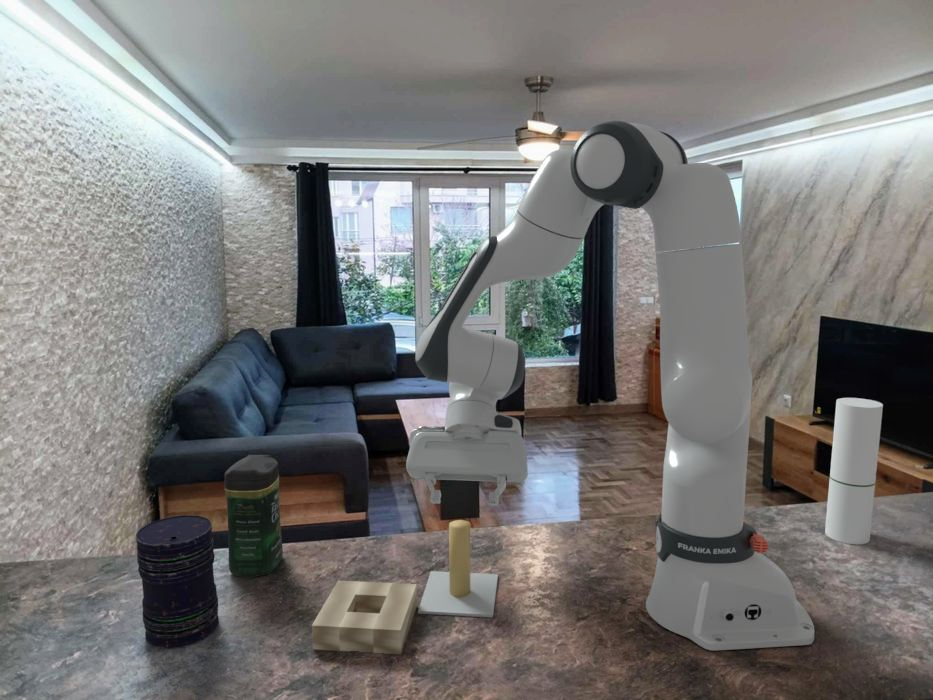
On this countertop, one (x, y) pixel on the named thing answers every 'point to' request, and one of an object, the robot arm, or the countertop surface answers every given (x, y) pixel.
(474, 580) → the mat
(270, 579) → the countertop surface
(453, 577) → the peg
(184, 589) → the dark blue cylinder
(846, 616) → the countertop surface
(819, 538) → the countertop surface
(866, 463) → the cylindrical container
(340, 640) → the hole block
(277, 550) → the coffee jar
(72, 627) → the countertop surface
